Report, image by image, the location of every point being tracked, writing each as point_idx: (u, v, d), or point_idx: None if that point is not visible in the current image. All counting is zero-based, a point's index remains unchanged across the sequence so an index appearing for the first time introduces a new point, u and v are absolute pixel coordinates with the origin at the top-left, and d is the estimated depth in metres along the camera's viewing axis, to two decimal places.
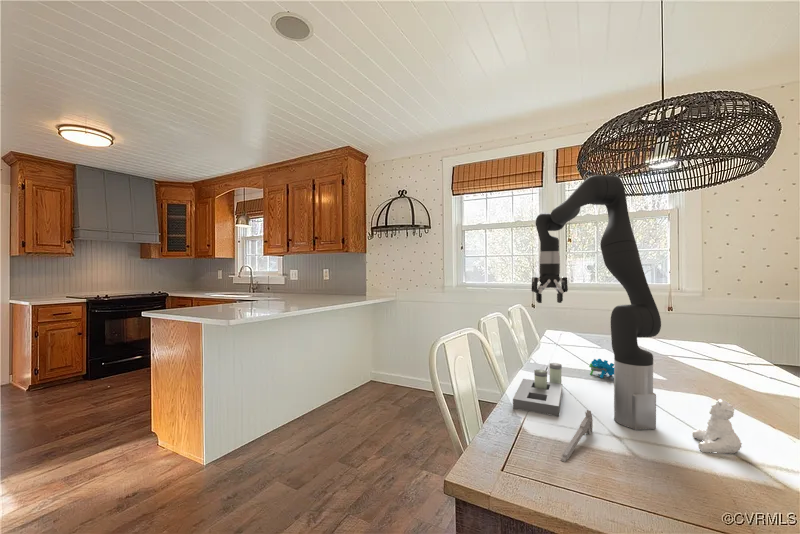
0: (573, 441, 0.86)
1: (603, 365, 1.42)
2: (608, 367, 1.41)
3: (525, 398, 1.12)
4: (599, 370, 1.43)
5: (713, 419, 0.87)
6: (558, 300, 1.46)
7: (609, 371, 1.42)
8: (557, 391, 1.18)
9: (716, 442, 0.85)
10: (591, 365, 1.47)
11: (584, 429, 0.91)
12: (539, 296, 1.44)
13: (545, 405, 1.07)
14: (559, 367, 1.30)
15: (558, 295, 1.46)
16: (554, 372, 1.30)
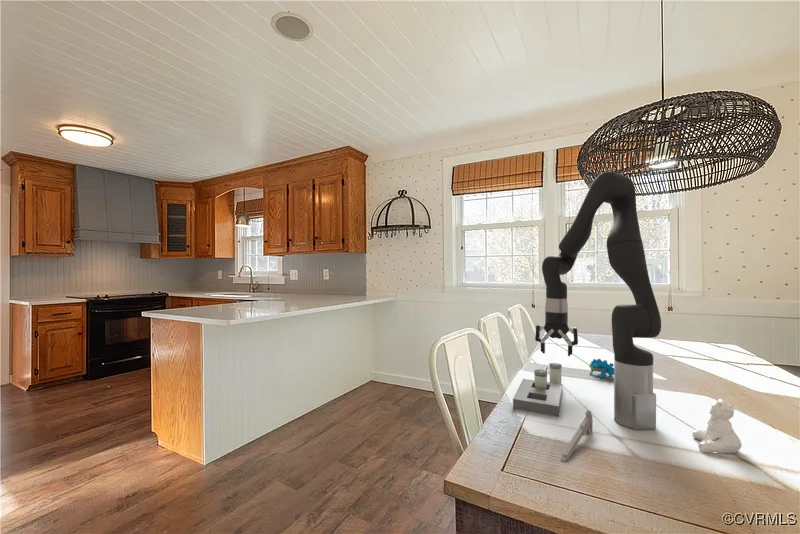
0: (573, 441, 0.86)
1: (603, 365, 1.42)
2: (608, 367, 1.41)
3: (525, 398, 1.12)
4: (599, 370, 1.43)
5: (713, 419, 0.87)
6: (544, 350, 1.34)
7: (609, 371, 1.42)
8: (557, 391, 1.18)
9: (716, 442, 0.85)
10: (591, 365, 1.47)
11: (584, 429, 0.91)
12: None
13: (545, 405, 1.07)
14: (559, 367, 1.30)
15: (544, 345, 1.33)
16: (554, 372, 1.30)
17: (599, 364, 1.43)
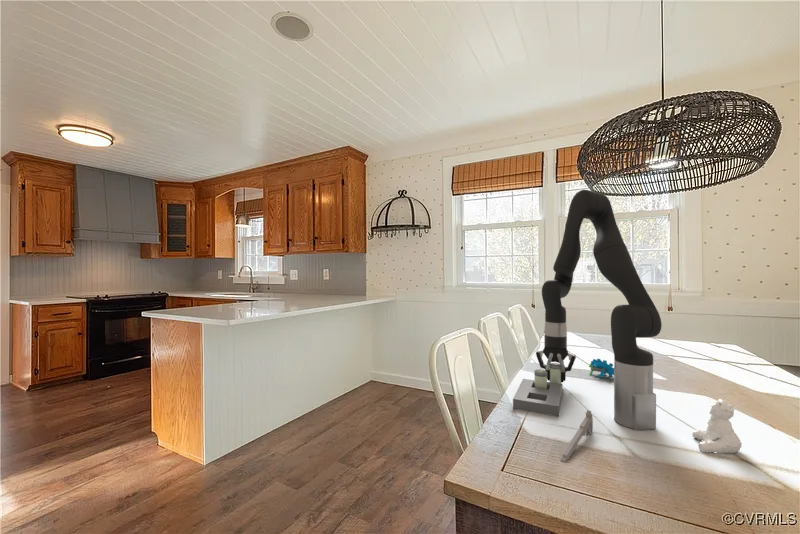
0: (573, 441, 0.86)
1: (602, 365, 1.42)
2: (607, 367, 1.41)
3: (525, 398, 1.12)
4: (598, 370, 1.43)
5: (713, 419, 0.87)
6: (549, 377, 1.32)
7: (609, 371, 1.42)
8: (557, 391, 1.18)
9: (716, 442, 0.85)
10: (591, 365, 1.47)
11: (584, 429, 0.91)
12: None
13: (545, 405, 1.07)
14: (559, 367, 1.30)
15: (549, 372, 1.32)
16: (554, 372, 1.30)
17: (599, 364, 1.43)
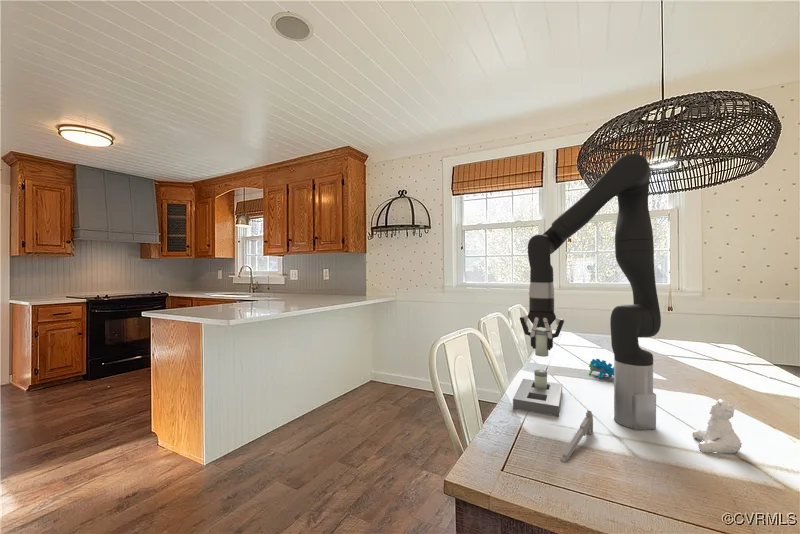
0: (573, 441, 0.86)
1: (601, 365, 1.42)
2: (606, 367, 1.40)
3: (525, 398, 1.12)
4: (598, 370, 1.43)
5: (713, 419, 0.87)
6: None
7: (608, 371, 1.42)
8: (557, 391, 1.18)
9: (716, 442, 0.85)
10: (590, 365, 1.47)
11: (584, 429, 0.91)
12: None
13: (545, 405, 1.07)
14: (546, 333, 1.15)
15: None
16: (540, 339, 1.15)
17: (598, 364, 1.43)
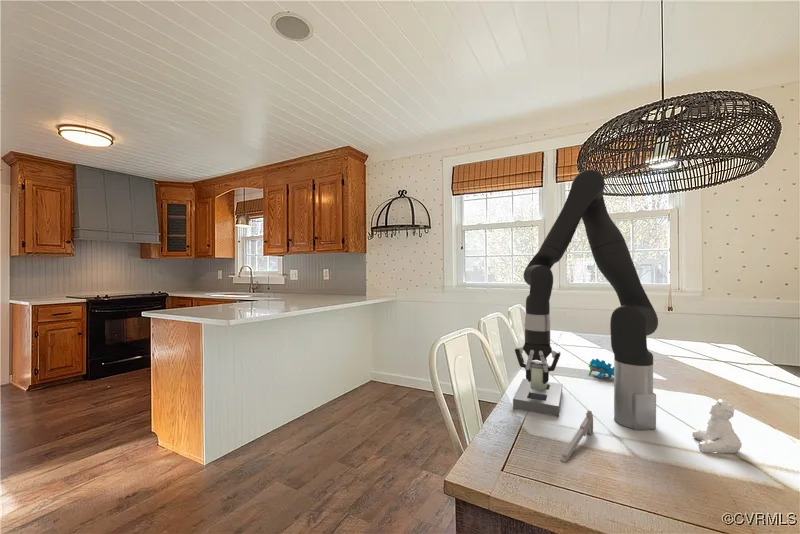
0: (573, 441, 0.86)
1: (601, 365, 1.42)
2: (606, 367, 1.40)
3: (525, 398, 1.12)
4: (597, 370, 1.43)
5: (713, 419, 0.87)
6: (530, 378, 1.14)
7: (608, 371, 1.42)
8: (557, 391, 1.18)
9: (716, 442, 0.85)
10: (590, 365, 1.47)
11: (585, 429, 0.91)
12: None
13: (545, 405, 1.07)
14: (541, 366, 1.12)
15: (530, 372, 1.14)
16: (535, 372, 1.12)
17: (598, 364, 1.43)
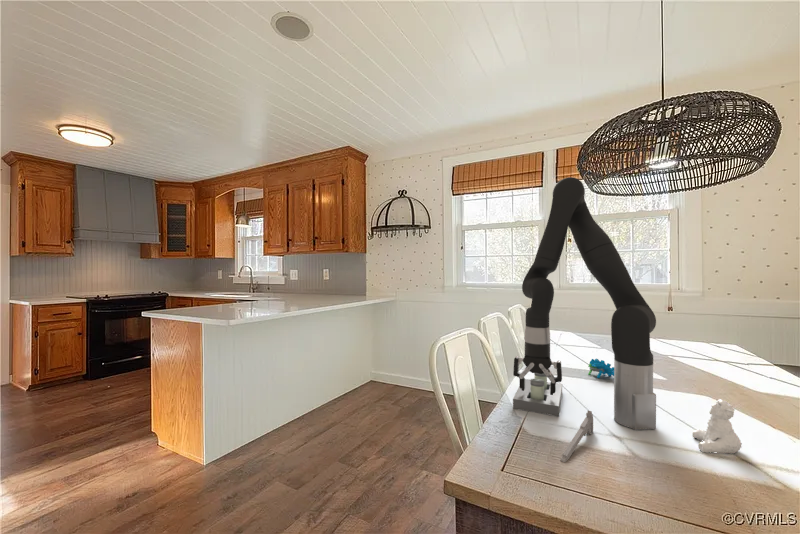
0: (573, 441, 0.86)
1: (601, 365, 1.42)
2: (605, 367, 1.40)
3: (525, 398, 1.12)
4: (597, 370, 1.43)
5: (713, 419, 0.87)
6: (524, 387, 1.15)
7: (607, 371, 1.42)
8: (557, 391, 1.18)
9: (716, 442, 0.85)
10: (590, 365, 1.47)
11: (585, 429, 0.91)
12: None
13: (545, 405, 1.07)
14: (541, 384, 1.11)
15: (524, 381, 1.15)
16: (535, 390, 1.12)
17: (597, 364, 1.43)
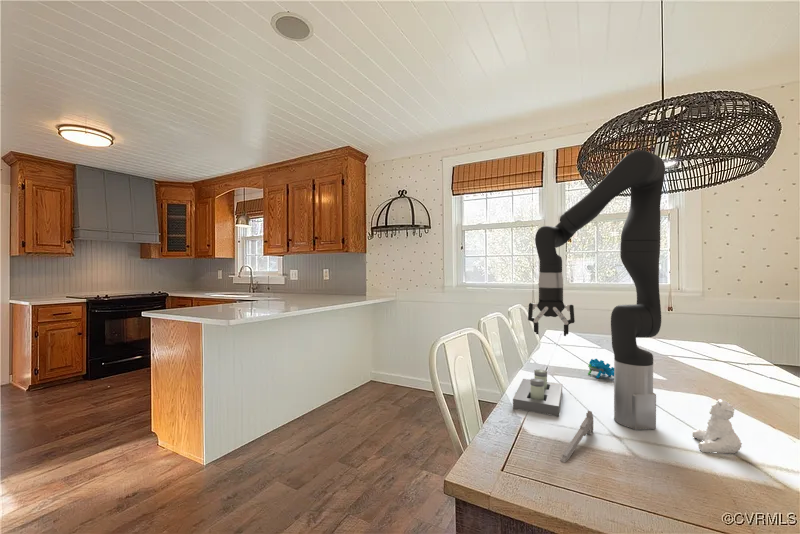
0: (573, 442, 0.86)
1: (600, 365, 1.42)
2: (605, 367, 1.40)
3: (525, 398, 1.12)
4: (597, 370, 1.43)
5: (713, 419, 0.87)
6: (538, 331, 1.22)
7: (607, 371, 1.42)
8: (557, 391, 1.18)
9: (716, 442, 0.85)
10: (590, 365, 1.47)
11: (585, 430, 0.91)
12: None
13: (545, 405, 1.07)
14: (541, 384, 1.11)
15: (538, 325, 1.22)
16: (535, 390, 1.12)
17: (597, 364, 1.43)
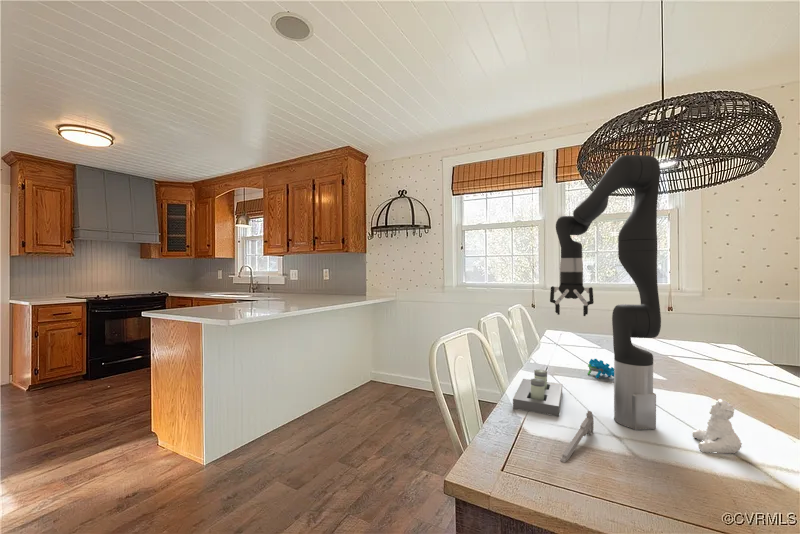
0: (573, 442, 0.86)
1: (600, 365, 1.42)
2: (604, 367, 1.40)
3: (525, 398, 1.12)
4: (596, 370, 1.43)
5: (713, 419, 0.87)
6: (559, 312, 1.33)
7: (606, 372, 1.42)
8: (557, 391, 1.18)
9: (716, 442, 0.85)
10: (590, 365, 1.47)
11: (585, 430, 0.91)
12: None
13: (545, 405, 1.07)
14: (542, 384, 1.11)
15: (559, 306, 1.33)
16: (535, 389, 1.12)
17: (596, 364, 1.43)
